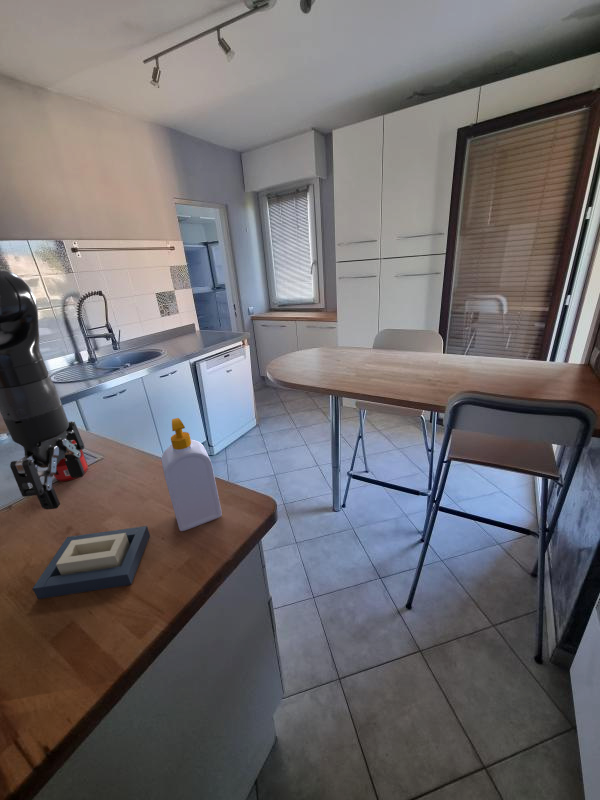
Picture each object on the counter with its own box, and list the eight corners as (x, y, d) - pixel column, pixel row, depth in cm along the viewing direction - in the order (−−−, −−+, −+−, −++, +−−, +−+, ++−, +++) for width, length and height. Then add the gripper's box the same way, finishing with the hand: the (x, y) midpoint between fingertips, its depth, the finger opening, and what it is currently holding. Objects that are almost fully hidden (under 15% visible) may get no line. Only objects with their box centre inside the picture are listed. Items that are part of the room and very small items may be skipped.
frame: (62, 578, 60) (55, 564, 58) (77, 553, 65) (71, 540, 63) (120, 569, 61) (114, 555, 59) (130, 546, 66) (125, 532, 64)
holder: (37, 599, 57) (31, 588, 56) (71, 546, 67) (67, 536, 66) (131, 584, 58) (127, 574, 57) (150, 535, 69) (147, 525, 68)
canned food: (95, 465, 95) (82, 431, 91) (73, 483, 88) (58, 447, 84) (72, 464, 96) (58, 431, 92) (48, 481, 89) (32, 446, 85)
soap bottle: (215, 498, 78) (196, 410, 69) (222, 516, 72) (203, 423, 63) (175, 512, 75) (150, 421, 66) (180, 532, 69) (153, 435, 60)
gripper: (34, 392, 58) (65, 469, 65) (-30, 431, 45) (16, 523, 52) (79, 388, 59) (105, 465, 65) (29, 425, 46) (67, 517, 52)
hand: (66, 491), depth 58 cm, fingers open, 8 cm apart
